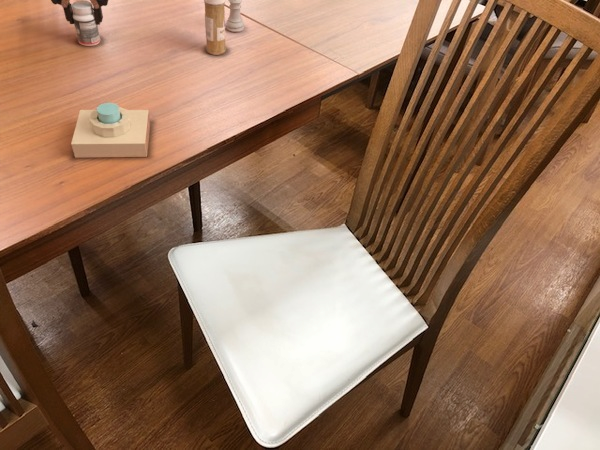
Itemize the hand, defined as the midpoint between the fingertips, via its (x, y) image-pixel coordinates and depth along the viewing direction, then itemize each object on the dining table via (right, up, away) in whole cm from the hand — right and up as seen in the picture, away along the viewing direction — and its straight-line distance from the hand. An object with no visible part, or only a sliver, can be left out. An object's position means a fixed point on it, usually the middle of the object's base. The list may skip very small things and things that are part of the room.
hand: (85, 22), depth 111 cm
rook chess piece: (+31, +4, +14) cm, 34 cm away
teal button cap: (+14, -26, -23) cm, 37 cm away
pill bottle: (0, -3, +3) cm, 5 cm away
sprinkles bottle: (+28, -4, +6) cm, 29 cm away
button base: (+13, -29, -19) cm, 37 cm away
